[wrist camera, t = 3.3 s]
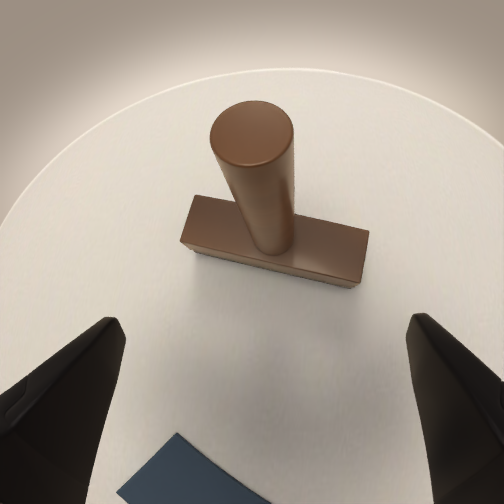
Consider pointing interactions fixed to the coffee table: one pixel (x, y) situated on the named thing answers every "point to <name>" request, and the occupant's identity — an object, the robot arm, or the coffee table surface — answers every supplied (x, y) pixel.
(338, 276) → the wiper
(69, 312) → the coffee table surface
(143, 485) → the drying mat
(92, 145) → the coffee table surface
